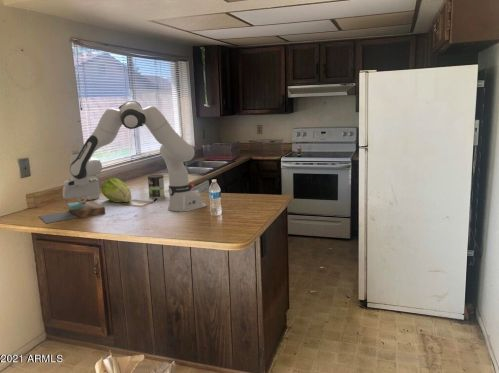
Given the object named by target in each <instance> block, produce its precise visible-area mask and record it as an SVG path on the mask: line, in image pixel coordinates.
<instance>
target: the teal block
mask: <svg viewBox="0 0 499 373" xmlns="http://www.w3.org/2000/svg"><path fill="white" fill-rule="evenodd" d="M67 208H68V209H69V208H70V209H71V210H74V209H80V208H83V205H82V204H81V203H80V201H76V202H69V203H67Z"/></svg>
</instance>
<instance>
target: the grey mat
mask: <svg viewBox="0 0 499 373" xmlns="http://www.w3.org/2000/svg"><path fill="white" fill-rule="evenodd" d="M38 217H39V218H40V219H41V220H42V221H43V222H44V223H45V224H53V223H58V222H63V221H69V220H77V219H78V216H76V215H75V214H73V213H72V212H70V211H69V210H67V211H60V212H54V213H50V214H48V213H47V214H42V215H38Z"/></svg>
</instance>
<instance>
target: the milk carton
mask: <svg viewBox="0 0 499 373" xmlns="http://www.w3.org/2000/svg"><path fill="white" fill-rule="evenodd" d="M90 179H97V181H98V180H99V179H98V175H93V176H89V180H90ZM84 199H85V198H84V197H83V200H84ZM95 199H100V194H99V195H92V196H87V201H88V200H89V201H93V200H95Z"/></svg>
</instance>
